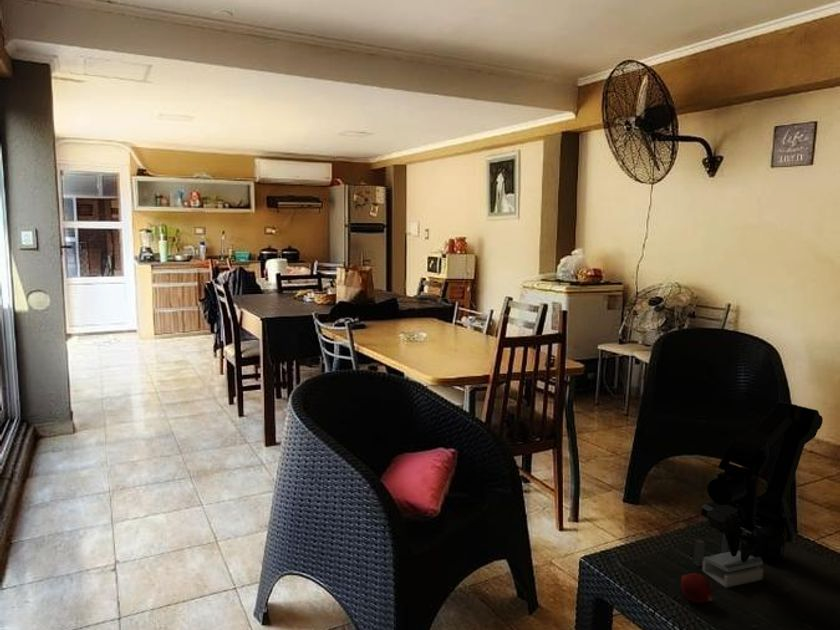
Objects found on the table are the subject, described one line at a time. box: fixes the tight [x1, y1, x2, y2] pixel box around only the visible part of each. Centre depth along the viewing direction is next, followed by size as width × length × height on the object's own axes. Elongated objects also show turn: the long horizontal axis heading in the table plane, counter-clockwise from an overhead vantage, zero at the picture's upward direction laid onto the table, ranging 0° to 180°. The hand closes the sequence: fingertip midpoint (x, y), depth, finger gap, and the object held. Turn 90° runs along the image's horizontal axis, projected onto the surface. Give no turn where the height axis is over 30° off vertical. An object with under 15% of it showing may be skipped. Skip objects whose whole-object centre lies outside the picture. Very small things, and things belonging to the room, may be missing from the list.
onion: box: [680, 572, 714, 604], centre depth 133 cm, size 6×6×8 cm
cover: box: [703, 549, 764, 572], centre depth 143 cm, size 11×7×1 cm, turn 109°
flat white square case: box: [692, 534, 765, 588], centre depth 144 cm, size 11×10×6 cm
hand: (738, 558), depth 141 cm, fingers open, 2 cm apart
